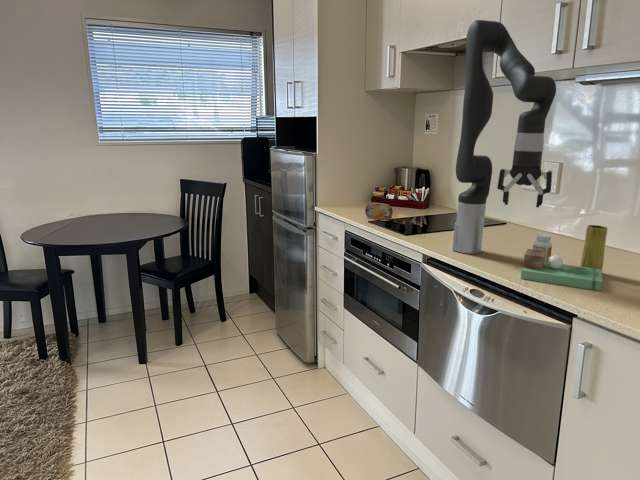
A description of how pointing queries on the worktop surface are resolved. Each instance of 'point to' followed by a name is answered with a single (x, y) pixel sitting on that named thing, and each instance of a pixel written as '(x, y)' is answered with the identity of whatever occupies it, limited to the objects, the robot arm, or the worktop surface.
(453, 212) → the worktop surface
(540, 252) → the block
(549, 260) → the ball
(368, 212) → the tin
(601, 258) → the vase
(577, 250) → the worktop surface
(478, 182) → the robot arm
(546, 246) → the supplement bottle
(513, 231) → the worktop surface
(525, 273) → the green
